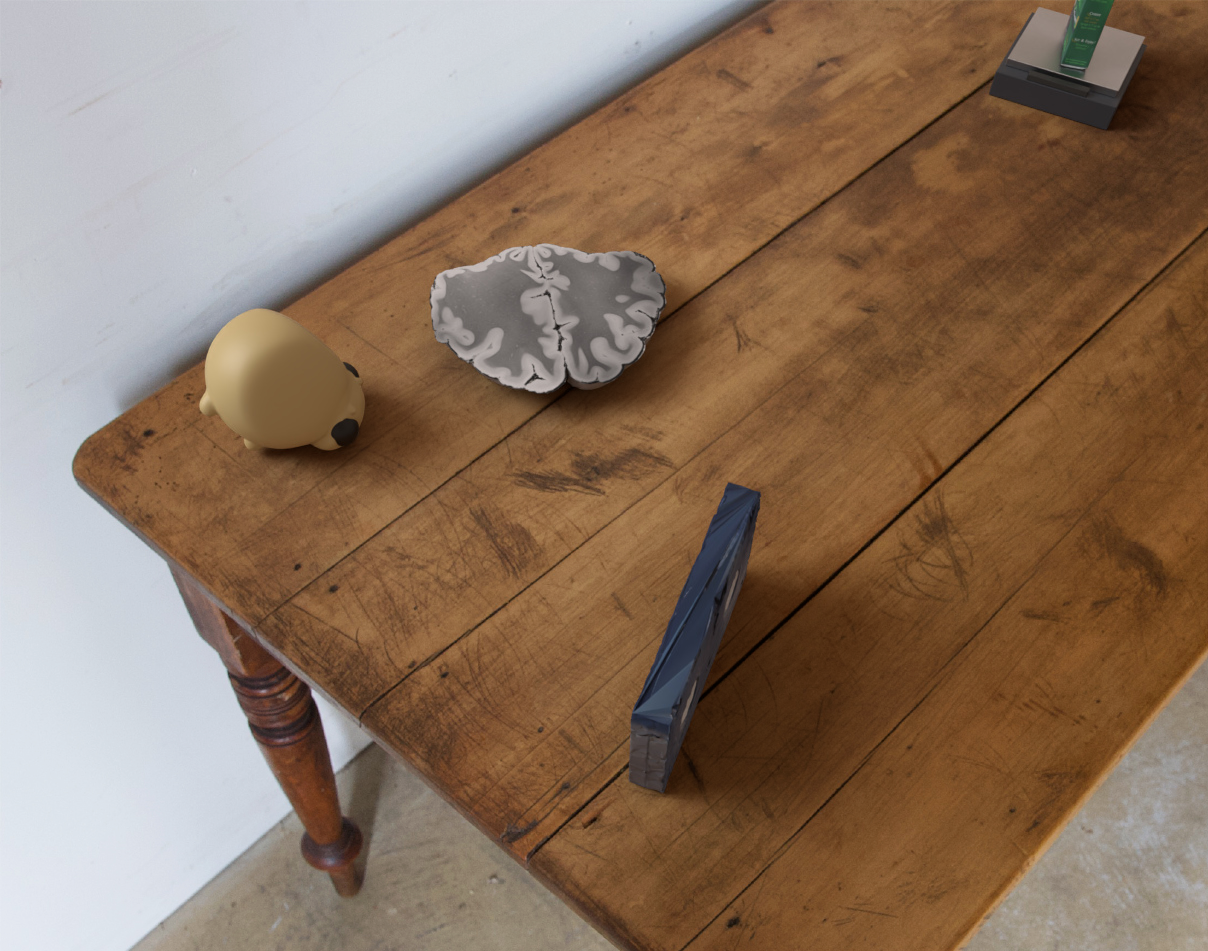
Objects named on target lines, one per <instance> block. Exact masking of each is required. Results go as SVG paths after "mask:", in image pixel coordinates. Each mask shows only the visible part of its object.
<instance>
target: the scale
mask: <svg viewBox="0 0 1208 951" xmlns="http://www.w3.org/2000/svg"><path fill="white" fill-rule="evenodd" d="M1069 17H1070V15H1069V14H1065V13H1063V12H1059V11H1055V10H1052V9H1048V8H1045V7H1041V6H1038V7H1037V9H1036V11H1035V12H1033V11H1032V12H1031V13H1030V15H1029V16H1028V18H1027V20H1026V21H1025V23H1024V24H1023V26H1022V28H1021V29H1020V31H1019V33H1018V34H1017V36H1016V37H1015V40H1014V41H1013V43H1012V45H1011V46H1010V48H1009V50H1008V51H1007V53H1006V55H1005V56H1004V58H1003V59H1002V61H1001V62H1000V64H999V66H998V67H997V69H996V71H995V73H994V76H993V79H992V83H991V85H990V89H989V92H988V95H990V96H993V97H997V98H999V99H1003V100H1006V101H1009V102H1013V103H1016V104H1019V105H1021V106H1025V107H1029V108H1032V109H1035V110H1038V111H1042V112H1044V113H1048V114H1051V115H1055V116H1058V117H1061V118H1065V119H1068V120H1070V121H1075V122H1078V123H1081V124H1084V125H1086V126H1087V125H1088V126H1091V127H1094V128H1097V129H1101V130H1104V131H1107V130H1108V128H1109V126H1110V125H1111V122H1112V120H1113V119H1114V116H1115V115H1116V113H1117V111H1118V108H1119V106H1120V105H1121V102H1122V101H1123V98H1124V96H1125V94H1126V92H1127V90H1128V88H1129V86H1130V84H1131V81H1132V80H1133V77H1134V76H1135V74H1136V71H1137V70H1138V68H1139V65H1140V63H1141V61H1142V59H1143V56H1144V54H1145V52H1146V49H1147V47H1148V44H1145V43H1144V41H1145V39H1146V37H1145V36H1143V35H1140V34H1136V33H1132V32H1129V31H1125V30H1122V29H1119V28H1115V27H1111V26H1108V25H1105V26H1104V28H1103V31H1102V33H1101V36H1100V38H1099V41H1098V43H1097V46H1096V48H1095V51H1094V53H1093V56H1092V58H1091V61H1090V64H1089V66H1088V68H1087V69H1077V68H1071V67H1066V66H1062V65H1061V64H1060V63H1061V58H1062V51H1063V45H1064V39H1065V33H1066V29H1067V23H1068V20H1069Z"/></svg>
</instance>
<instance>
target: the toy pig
mask: <svg viewBox="0 0 1208 951" xmlns="http://www.w3.org/2000/svg"><path fill="white" fill-rule="evenodd" d="M204 381H205V385H206V386H205V387H206V388H205V392H204V394H203V395H202V396H201V398H200V400H199V410H200V413H201V414H203V415H204V416H206V417H209V418H210V417H214V416H218V417H219V418H220V419H221V420H222V422H223V423H224V424H225V425H226V426H227V427H228V428H229V429H230V430H231V431H233V432H234V433H235V434H237V435H238V436H239V437H241V438H242V439H243V443H244V446H245V447H246V449H247V450H249V451H252V452H257V451H260V450H262V449H263V448H268V449H276V450H285V449H286V450H287V449H294V448H298V447H302V446H308V445H311V446H313V447H315V448H316V449H319V450H322V451H334V450H337V449H339V448H342V447H348V446H350V445H353V443H354V442H355V441H356V440H357V439H358V437H359V434H360V426H361V425H362V422H363V419H364V415H365V410H366V409H365V408H366V398H365V393H364V390H363V387H362V386H363V383H364V381H363V379H362V378H361V377H360V374H359V372H358V370H357V368H356V367H355V366H353V365H352V364H351V363H349V362H346V361H342V359H341V358H340V357H339V355H338V354H336V352H335V351H334V350H333V349H332V348H331V347H329V345H327V344H326V343H325V342H324V341H323V340H322V339H320V338H319V337H318V336H317V335H316V334H314V332H312V331H311V330H310V329H308V328H307V327H306V326H304V325H302V324H301V323H299V322H298V321H296V320H295V319H293V318H291V317H289V316H288V315H285V314H283V313H281V312H278V311H275V310H272V309H268V308H261V307H259V308H252V309H249V310H246V311H244V312H242V313H239V315H236V316H235V317H234V318H232V319H230V320H229V321H228V322H227V323H226V324H225V325H224V326H223V327H222V328H221V329H220V331H218V333H217V334H216V335H215V337H214V339H213V340H212V342H211V344H210V346H209V348H208V351H207V354H206V358H205V363H204Z"/></svg>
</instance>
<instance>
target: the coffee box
mask: <svg viewBox="0 0 1208 951" xmlns="http://www.w3.org/2000/svg"><path fill="white" fill-rule="evenodd" d="M1114 2H1115V0H1075V1H1074V3H1073V7H1072V10H1071V12H1070V17H1069V20H1068V23H1067V29H1066V33H1065V39H1064V45H1063V51H1062V58H1061V63H1060V64H1061V65H1062V66H1066V67H1071V68H1077V69H1087V68H1088V66H1089V64H1090V61H1091V58H1092V56H1093V53H1094V51H1095V48H1096V46H1097V43H1098V41H1099V38H1100V36H1101V33H1102V31H1103V28H1104V26H1106V23H1107V20H1108V18H1109V16H1110V12H1111V10H1112V9H1113V8H1112V7H1113V5H1114Z"/></svg>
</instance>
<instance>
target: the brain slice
mask: <svg viewBox="0 0 1208 951" xmlns="http://www.w3.org/2000/svg"><path fill="white" fill-rule="evenodd" d="M666 294H667V285H666V283H665V281H664V278H663V276H662V274H661V273H660V272H658V271H657V266H656V264H655V262H654V261H653V260H652V259H651V258H649V257H648V256H646V255H645V254H642V253H640V252H637V251H633V250H622V251H621V250H620V251H619V250H613V251H607V252H587V251H584V250H580V249H576V248H572V247H566V246H560V245H558V244H553V243H545V242H544V243H538V244H536V245H535V246H532V245H524V246H523V245H522V246H521V245H520V246H514V247H513V246H512V247H508V248H505V249H504V250H502V251H500V252H499V253H497V254H494V255H492V256H489V257H488V258H486V259H485V260H483V261H481V262H477V263H475V264H471V265H463V266H458V267H455V268H451V269H445V270H443V271H442V272H439V273H438V274H436V276H435V277H434V279H433V283H432V285H431V287H430V291H429V299H428V300H429V306H430V316H431V326H432V327H431V328H432V330H433V332H434V334H433V335H434V339H435V340H436V342H438V343H440V344H443V345H446V347H448V348H449V350H450V351H451V353H453V354H454V355H455V356H456V357H457V358H458V359H459V360H461V361H462V362H464V363H466V364H468V365H470V366H471V367H473V369H474V370H476V372H477V373H478V374H480V375H481V376H483V377H484V378H486V379H487V380H490V381H492V382H493V383H495V384H497V385H500V386H502V387H505V388H508V389H511V390H515V391H527V392H529V393H534V394H551V393H554V392H556V391H558V390H559V389H560V388H561V387H562V386H564V385H565V384H566V381H567V383H568V384H570V385H571V387H573V388H577V389H580V390H584V391H589V390H590V391H593V390H596V389H599V388H601V387H604V386H606V385H609V384H610V383H612V382H614V381H615V380H617V379H618V378H619V377H621V376H622V375H623V373H624V371H625V370H626V369H627V368H629V367H631V366H632V365H634V364H635V363H636V362H638V361H639V360H640V358H641V357H642V356H643V354H644V352H645V351H646V345H647V344H648V343H649V342H650V341H651V339H652V336H653V334H654V333H655V329H656V326H657V323H658V321H659V319H660V316H661V314H663V312H664V310H665V309H666V307H667V306H666V305H667V299H666V298H667V297H666Z"/></svg>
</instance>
